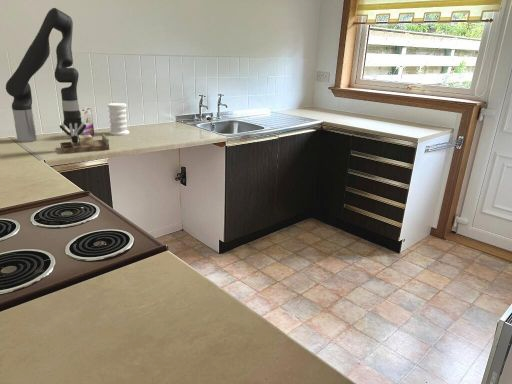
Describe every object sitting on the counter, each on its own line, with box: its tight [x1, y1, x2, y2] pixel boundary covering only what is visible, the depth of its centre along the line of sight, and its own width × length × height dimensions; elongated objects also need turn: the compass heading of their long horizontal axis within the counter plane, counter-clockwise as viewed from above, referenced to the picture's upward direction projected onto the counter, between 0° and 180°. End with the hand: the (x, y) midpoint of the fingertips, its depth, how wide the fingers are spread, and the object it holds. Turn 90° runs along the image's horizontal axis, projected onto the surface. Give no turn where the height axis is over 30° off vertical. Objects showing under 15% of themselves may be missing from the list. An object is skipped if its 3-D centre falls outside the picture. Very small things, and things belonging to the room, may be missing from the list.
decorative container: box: [107, 102, 130, 136], centre depth 239 cm, size 12×12×18 cm
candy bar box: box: [77, 106, 95, 139], centre depth 228 cm, size 11×5×16 cm, turn 168°
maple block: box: [78, 135, 94, 146], centre depth 204 cm, size 6×6×4 cm
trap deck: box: [59, 133, 110, 154], centre depth 204 cm, size 22×14×6 cm, turn 120°
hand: (75, 142), depth 201 cm, fingers closed
